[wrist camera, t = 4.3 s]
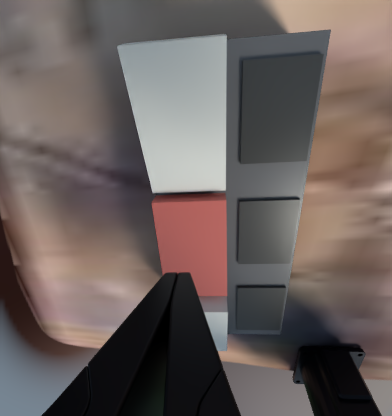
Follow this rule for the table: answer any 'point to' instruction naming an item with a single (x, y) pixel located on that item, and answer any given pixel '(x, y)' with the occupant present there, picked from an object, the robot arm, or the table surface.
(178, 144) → the white rectangular block
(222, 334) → the block
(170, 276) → the robot arm
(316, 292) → the table surface
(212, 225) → the red block
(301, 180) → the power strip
